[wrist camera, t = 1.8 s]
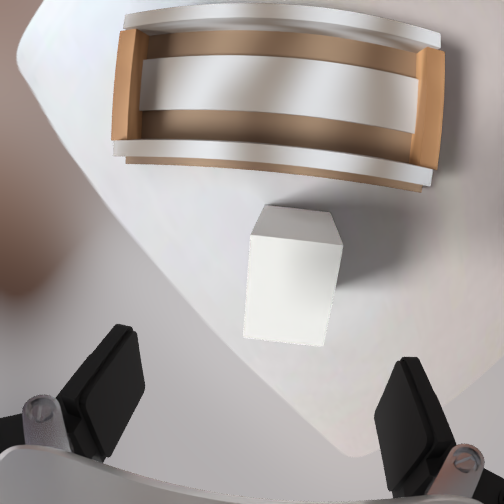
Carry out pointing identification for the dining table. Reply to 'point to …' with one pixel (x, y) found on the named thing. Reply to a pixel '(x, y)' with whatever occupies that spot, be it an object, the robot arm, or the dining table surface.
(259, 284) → the block
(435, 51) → the rail board
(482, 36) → the dining table surface
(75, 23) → the dining table surface
